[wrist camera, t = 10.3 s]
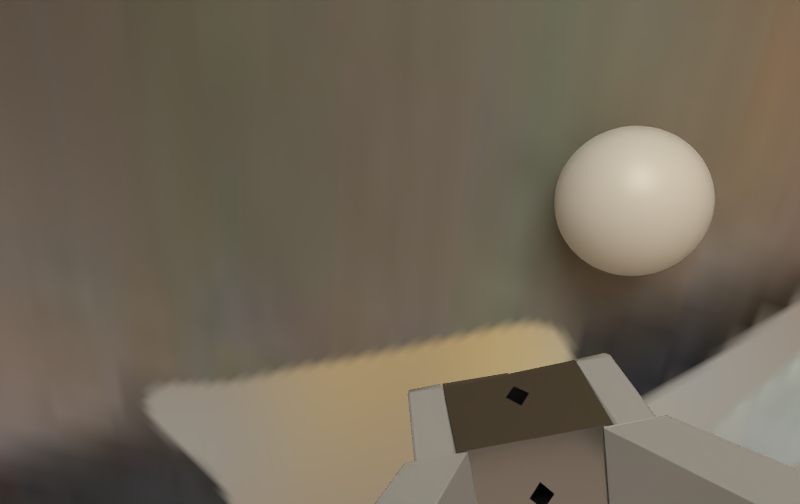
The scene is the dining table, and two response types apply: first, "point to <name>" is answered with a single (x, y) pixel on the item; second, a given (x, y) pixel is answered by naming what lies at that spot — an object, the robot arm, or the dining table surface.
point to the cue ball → (634, 200)
